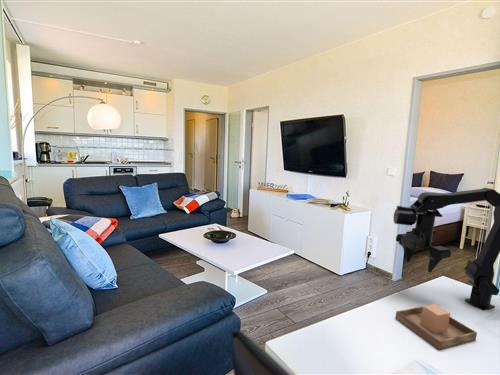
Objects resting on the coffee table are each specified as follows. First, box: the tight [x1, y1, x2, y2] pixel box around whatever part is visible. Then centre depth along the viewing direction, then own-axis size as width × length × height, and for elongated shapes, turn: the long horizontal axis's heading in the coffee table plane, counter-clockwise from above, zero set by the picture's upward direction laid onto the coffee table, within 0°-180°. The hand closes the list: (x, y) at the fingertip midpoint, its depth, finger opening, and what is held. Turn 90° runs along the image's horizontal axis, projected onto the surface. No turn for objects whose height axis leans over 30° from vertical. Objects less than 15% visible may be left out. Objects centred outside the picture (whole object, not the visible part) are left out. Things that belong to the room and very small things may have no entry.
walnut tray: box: [395, 304, 478, 351], centre depth 88 cm, size 15×15×2 cm
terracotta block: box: [421, 303, 451, 334], centre depth 88 cm, size 5×5×6 cm
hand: (418, 266), depth 108 cm, fingers open, 9 cm apart
